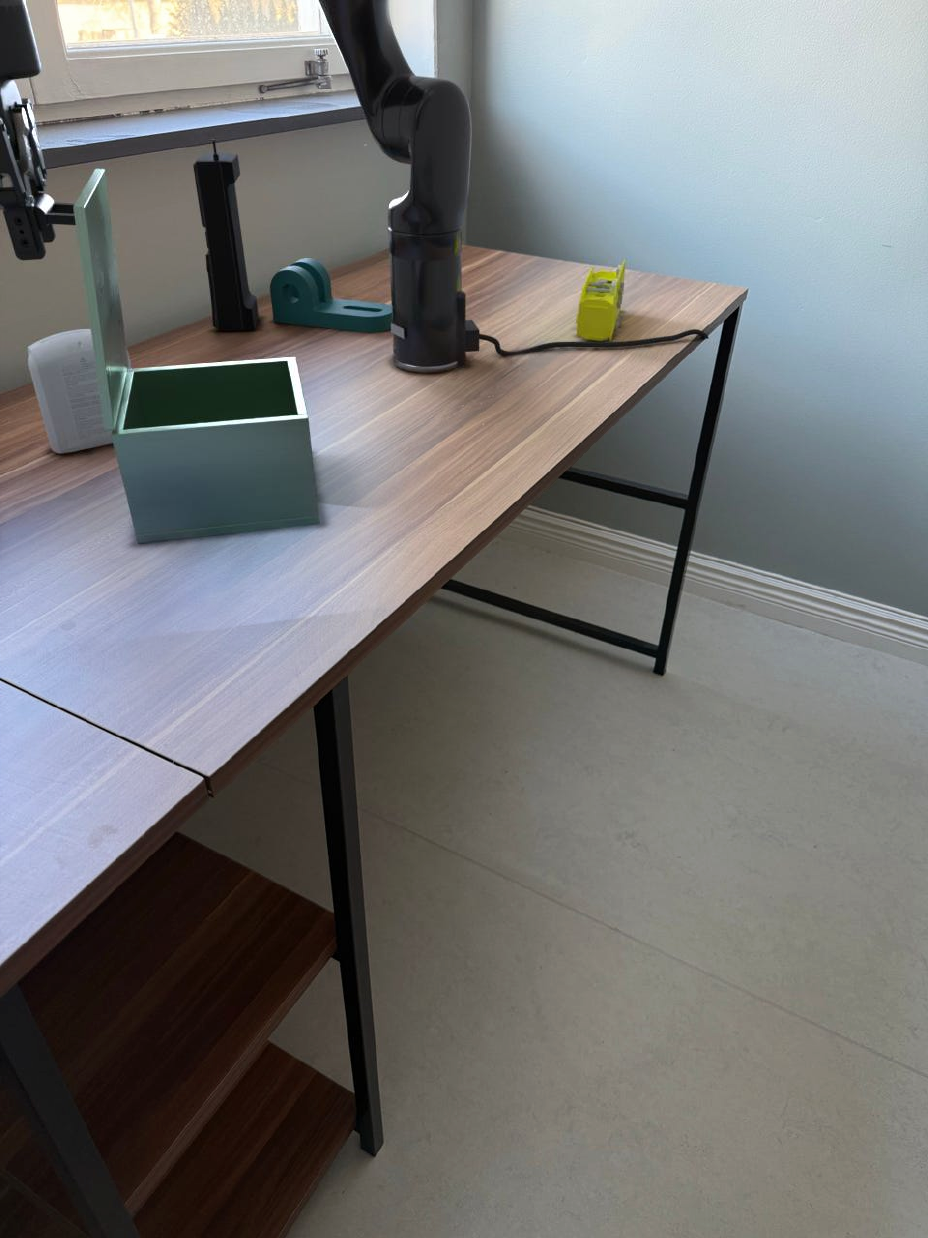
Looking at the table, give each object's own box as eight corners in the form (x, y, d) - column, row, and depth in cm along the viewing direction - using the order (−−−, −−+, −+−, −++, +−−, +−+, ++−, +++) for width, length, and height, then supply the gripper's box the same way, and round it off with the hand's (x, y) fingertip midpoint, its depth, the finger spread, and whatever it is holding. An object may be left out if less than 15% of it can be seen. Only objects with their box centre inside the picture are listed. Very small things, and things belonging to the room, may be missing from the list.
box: (305, 453, 98) (295, 356, 91) (319, 524, 85) (308, 417, 79) (147, 468, 94) (125, 368, 88) (137, 543, 82) (110, 434, 76)
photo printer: (139, 424, 104) (115, 317, 96) (151, 437, 101) (127, 328, 93) (47, 444, 99) (15, 334, 92) (57, 459, 96) (24, 346, 89)
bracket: (273, 321, 134) (267, 267, 129) (293, 308, 139) (288, 256, 135) (384, 334, 130) (381, 278, 125) (400, 320, 135) (398, 266, 130)
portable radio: (220, 315, 136) (191, 131, 122) (259, 314, 137) (235, 131, 122) (212, 332, 130) (181, 140, 115) (254, 331, 130) (228, 140, 116)
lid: (104, 168, 78) (35, 164, 76) (84, 206, 65) (1, 202, 64) (128, 364, 88) (67, 363, 87) (114, 429, 75) (43, 429, 74)
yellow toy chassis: (613, 346, 126) (619, 285, 121) (573, 342, 127) (578, 282, 122) (623, 312, 139) (629, 256, 134) (587, 309, 140) (591, 254, 135)
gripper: (6, 2, 58) (75, 270, 68) (39, -4, 70) (94, 227, 80) (-118, 4, 57) (-29, 276, 67) (-65, -3, 68) (5, 232, 78)
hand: (37, 248), depth 73 cm, fingers closed on lid, 5 cm apart
